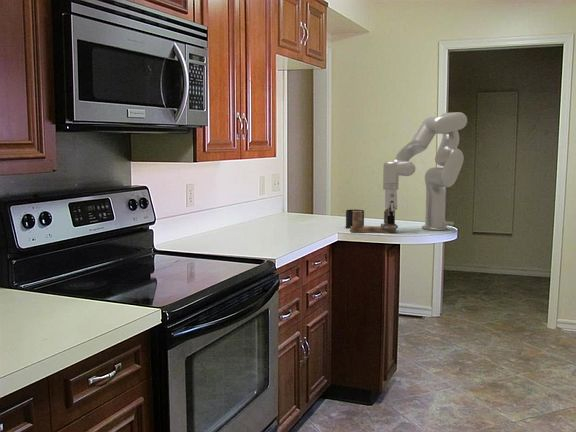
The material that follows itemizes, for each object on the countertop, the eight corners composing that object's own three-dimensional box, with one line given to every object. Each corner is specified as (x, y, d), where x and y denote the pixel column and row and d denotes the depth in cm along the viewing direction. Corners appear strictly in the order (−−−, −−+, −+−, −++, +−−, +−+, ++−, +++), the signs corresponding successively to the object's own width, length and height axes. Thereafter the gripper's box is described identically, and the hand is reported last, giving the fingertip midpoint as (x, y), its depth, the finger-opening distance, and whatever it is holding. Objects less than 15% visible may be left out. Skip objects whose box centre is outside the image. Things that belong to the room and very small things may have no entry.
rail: (395, 230, 314) (395, 210, 313) (397, 233, 307) (398, 212, 305) (350, 230, 314) (350, 210, 313) (351, 233, 307) (351, 212, 306)
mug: (368, 226, 329) (369, 209, 328) (359, 229, 319) (359, 212, 317) (352, 225, 334) (352, 208, 332) (342, 228, 323) (342, 210, 322)
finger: (393, 224, 312) (393, 208, 311) (394, 226, 308) (395, 210, 307) (383, 224, 312) (384, 209, 311) (385, 226, 308) (385, 210, 307)
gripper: (401, 188, 299) (400, 225, 302) (395, 185, 316) (394, 220, 318) (385, 188, 299) (384, 225, 302) (380, 185, 316) (380, 220, 318)
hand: (389, 222), depth 310 cm, fingers closed on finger, 4 cm apart
